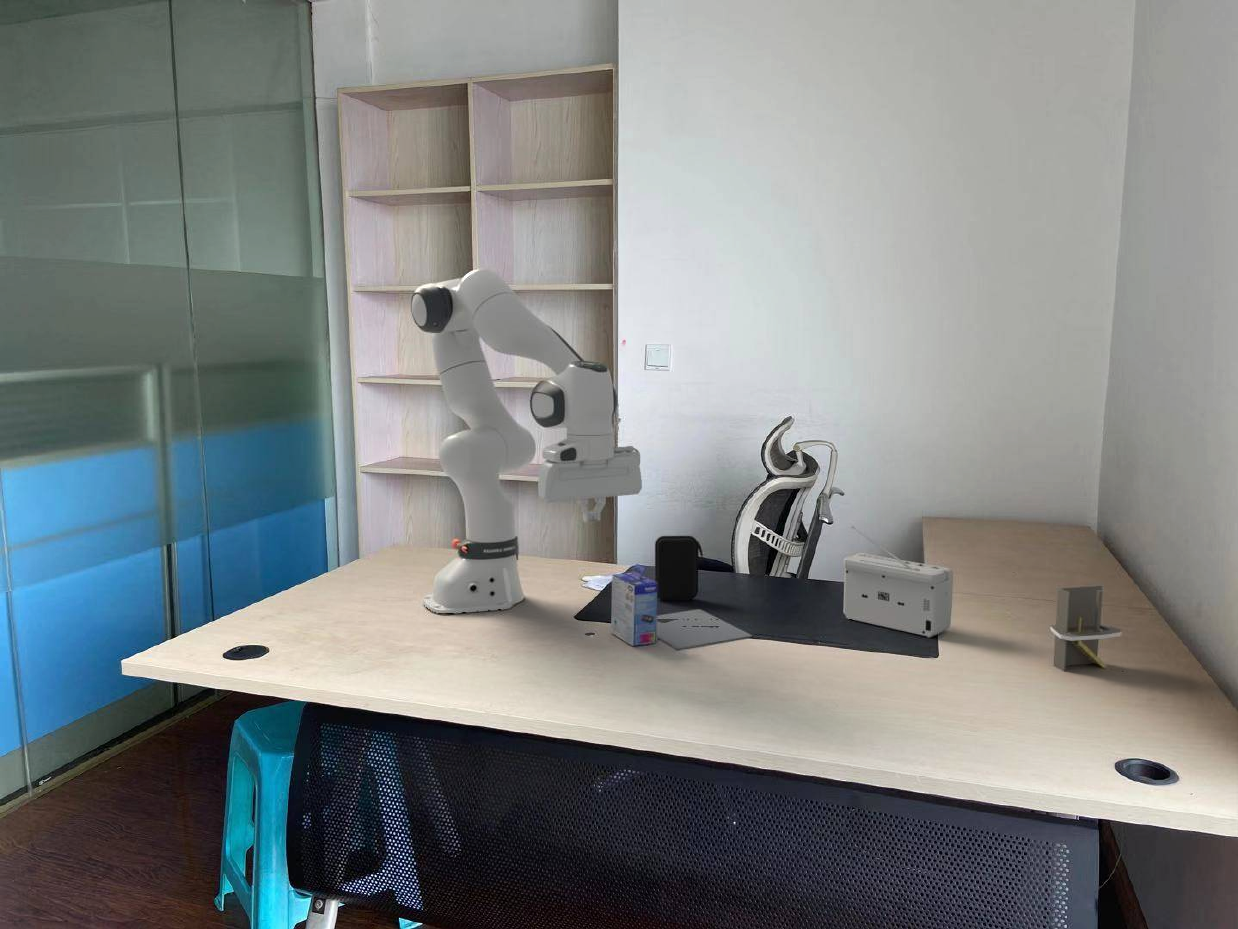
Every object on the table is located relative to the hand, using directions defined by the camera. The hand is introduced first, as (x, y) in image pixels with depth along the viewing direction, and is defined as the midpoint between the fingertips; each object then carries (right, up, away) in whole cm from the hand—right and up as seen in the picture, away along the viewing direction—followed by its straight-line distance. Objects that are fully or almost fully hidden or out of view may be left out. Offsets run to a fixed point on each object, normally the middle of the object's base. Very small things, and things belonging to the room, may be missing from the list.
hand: (591, 521), depth 177 cm
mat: (+19, -23, +13) cm, 32 cm away
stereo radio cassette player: (+61, -22, +15) cm, 67 cm away
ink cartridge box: (+8, -24, +7) cm, 26 cm away
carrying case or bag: (+19, -20, +33) cm, 43 cm away
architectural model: (+88, -26, -10) cm, 92 cm away
